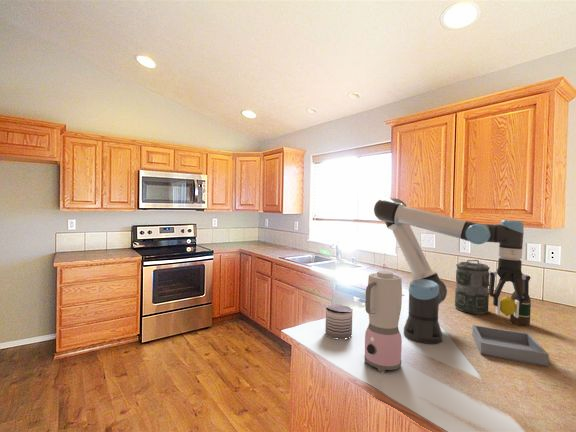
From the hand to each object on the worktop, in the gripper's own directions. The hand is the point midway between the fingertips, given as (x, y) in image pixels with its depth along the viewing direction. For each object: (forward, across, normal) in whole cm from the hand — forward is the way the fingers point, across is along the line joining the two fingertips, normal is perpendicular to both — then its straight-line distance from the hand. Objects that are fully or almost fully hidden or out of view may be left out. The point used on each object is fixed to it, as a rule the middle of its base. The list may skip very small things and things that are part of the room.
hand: (506, 315), depth 119 cm
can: (+14, -64, -18) cm, 68 cm away
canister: (+13, -4, +46) cm, 48 cm away
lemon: (+1, 0, 0) cm, 1 cm away
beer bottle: (+13, +15, +33) cm, 39 cm away
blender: (+13, -46, -38) cm, 61 cm away
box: (+12, -1, -4) cm, 13 cm away
